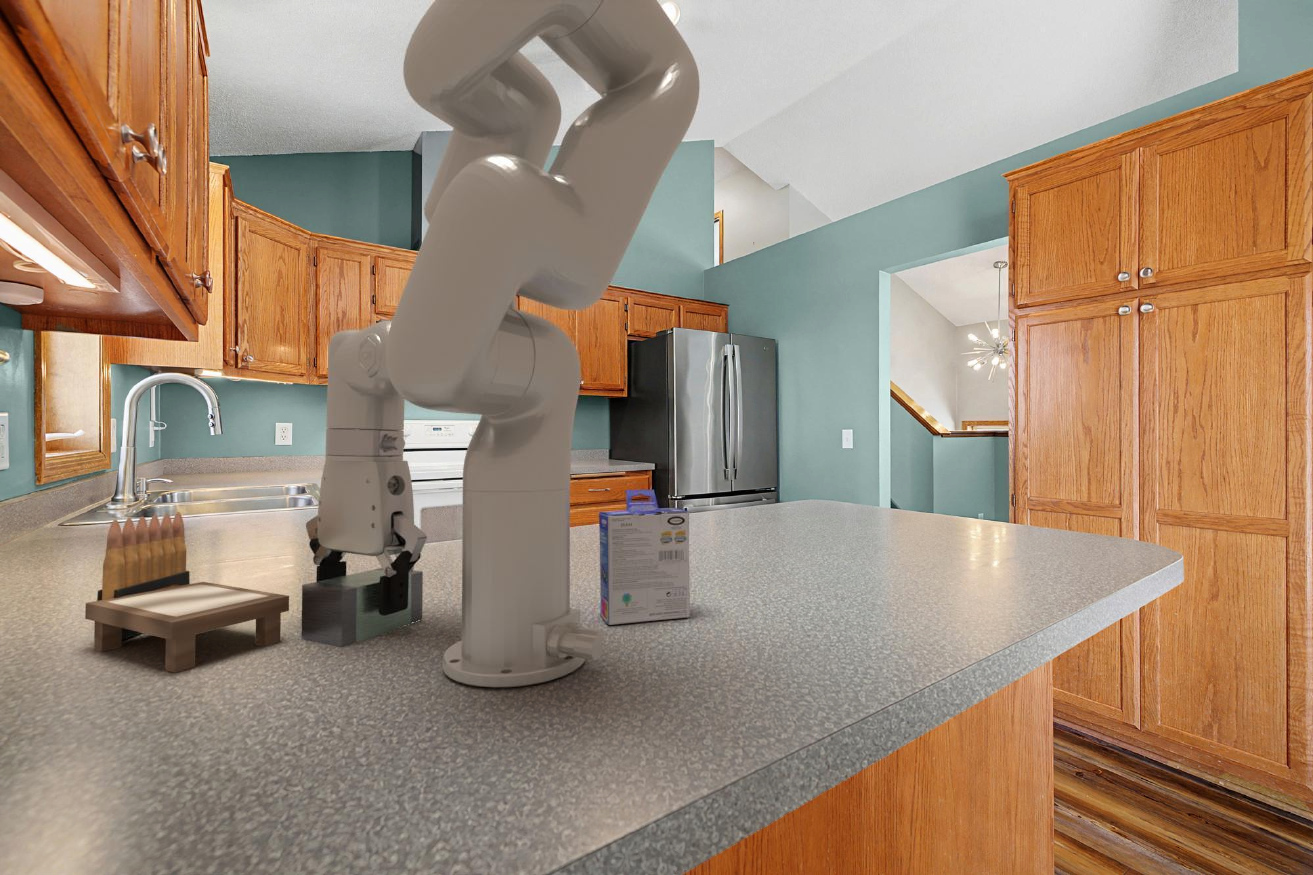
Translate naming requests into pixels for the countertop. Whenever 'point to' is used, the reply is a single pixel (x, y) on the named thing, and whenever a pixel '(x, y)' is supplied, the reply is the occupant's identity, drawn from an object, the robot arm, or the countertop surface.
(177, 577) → the ammunition clip
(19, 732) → the countertop surface
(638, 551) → the ink cartridge box
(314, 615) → the block
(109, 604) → the stand
